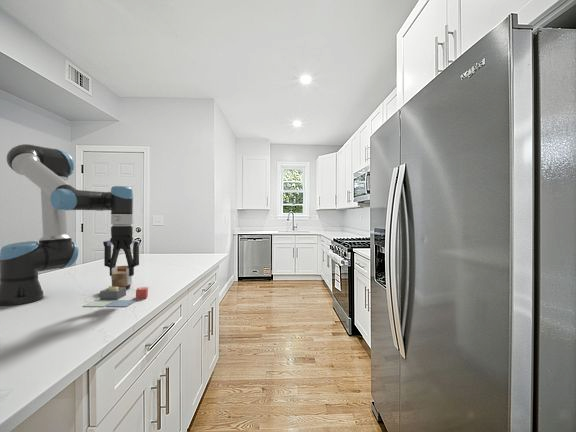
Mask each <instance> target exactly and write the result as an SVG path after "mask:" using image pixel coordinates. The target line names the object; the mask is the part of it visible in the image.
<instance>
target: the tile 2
mask: <svg viewBox="0 0 576 432" xmlns="http://www.w3.org/2000/svg"><path fill="white" fill-rule="evenodd" d="M135 302H137V299H118V300H115V301H114V302H112V303H110V304H108V305H106V306H105V307H106V308H127V307H129V306H131V305H132V304H133V303H135Z"/></svg>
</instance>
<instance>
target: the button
mask: <svg viewBox="0 0 576 432" xmlns="http://www.w3.org/2000/svg"><path fill="white" fill-rule="evenodd" d="M108 288H109V291H116V290H118V287H112V285H109V286H108Z"/></svg>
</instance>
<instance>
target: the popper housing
mask: <svg viewBox="0 0 576 432" xmlns="http://www.w3.org/2000/svg"><path fill="white" fill-rule="evenodd" d="M125 296H127V289H126V287H118V290H116V291H109V287H107V288H104V289H102V290H100V293H99V300H115V301H116V300H121V298H123V297H125Z"/></svg>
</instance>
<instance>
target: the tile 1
mask: <svg viewBox="0 0 576 432" xmlns="http://www.w3.org/2000/svg"><path fill="white" fill-rule="evenodd" d="M114 301H116V300H100V299H94V300H93V301H91V302H89V303H86V304H84V305H82V307H83V308H85V307H86V308H90V307H91V308H104V307H105V306H106V305H108V304H110V303H112V302H114Z"/></svg>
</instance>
